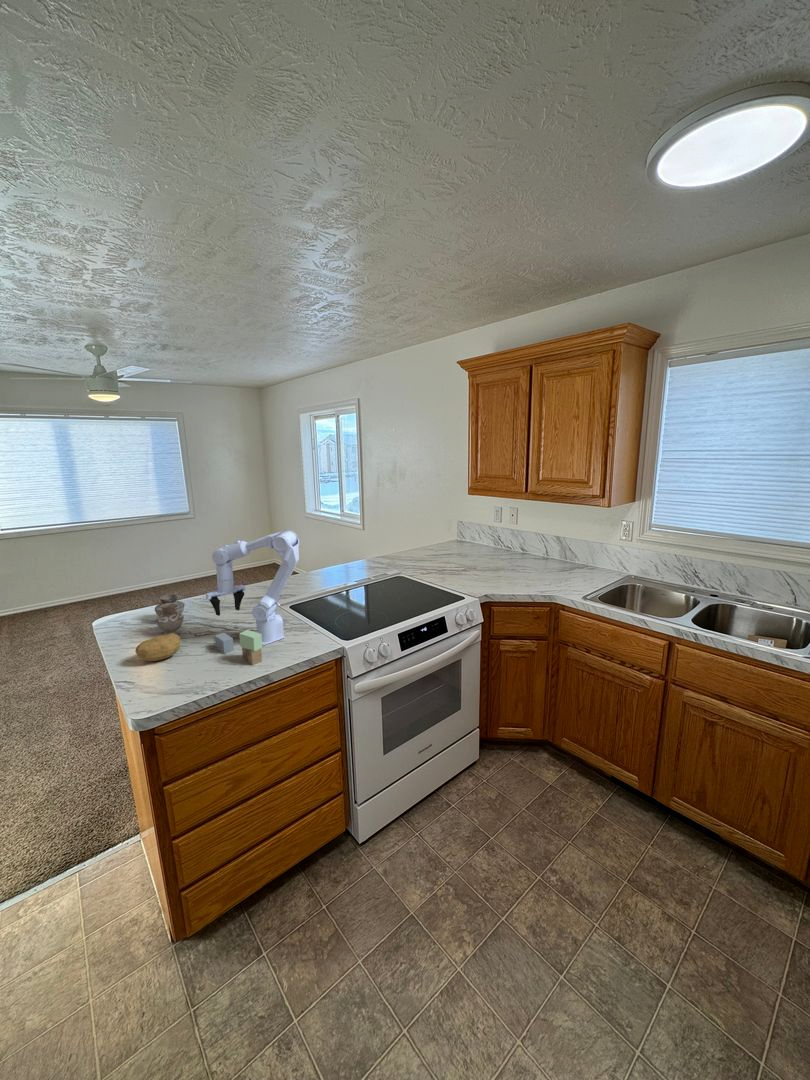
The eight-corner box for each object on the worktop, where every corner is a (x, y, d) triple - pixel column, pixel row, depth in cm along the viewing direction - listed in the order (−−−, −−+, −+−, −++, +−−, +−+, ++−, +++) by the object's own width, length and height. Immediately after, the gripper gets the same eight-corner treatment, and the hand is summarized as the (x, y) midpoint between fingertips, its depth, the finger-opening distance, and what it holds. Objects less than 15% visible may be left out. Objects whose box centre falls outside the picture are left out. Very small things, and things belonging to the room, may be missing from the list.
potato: (134, 660, 152) (131, 638, 151) (178, 648, 161) (175, 627, 160) (140, 670, 145) (137, 648, 143) (185, 657, 154) (183, 636, 152)
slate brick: (216, 647, 162) (214, 635, 161) (225, 644, 164) (224, 632, 163) (224, 654, 157) (223, 641, 156) (233, 650, 160) (232, 638, 159)
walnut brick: (242, 658, 154) (241, 645, 153) (252, 655, 156) (251, 642, 155) (252, 665, 149) (251, 652, 148) (262, 661, 152) (261, 648, 151)
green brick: (240, 646, 152) (239, 633, 151) (248, 642, 155) (247, 629, 154) (254, 651, 149) (253, 637, 148) (262, 647, 152) (261, 634, 150)
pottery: (155, 640, 167) (152, 611, 165) (156, 618, 189) (153, 591, 186) (188, 634, 173) (185, 606, 170) (185, 613, 194) (182, 587, 191)
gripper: (238, 572, 173) (240, 604, 176) (201, 580, 163) (204, 614, 166) (247, 576, 168) (249, 609, 171) (209, 584, 158) (212, 619, 161)
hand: (227, 612), depth 168 cm, fingers open, 7 cm apart
